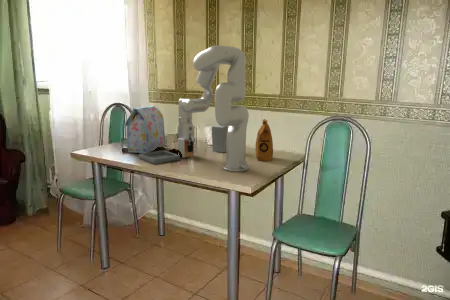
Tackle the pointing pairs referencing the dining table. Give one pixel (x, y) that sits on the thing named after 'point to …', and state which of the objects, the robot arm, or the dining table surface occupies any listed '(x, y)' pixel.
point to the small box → (184, 147)
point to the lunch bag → (145, 130)
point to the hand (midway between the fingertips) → (185, 150)
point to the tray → (159, 157)
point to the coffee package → (264, 143)
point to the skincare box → (219, 138)
